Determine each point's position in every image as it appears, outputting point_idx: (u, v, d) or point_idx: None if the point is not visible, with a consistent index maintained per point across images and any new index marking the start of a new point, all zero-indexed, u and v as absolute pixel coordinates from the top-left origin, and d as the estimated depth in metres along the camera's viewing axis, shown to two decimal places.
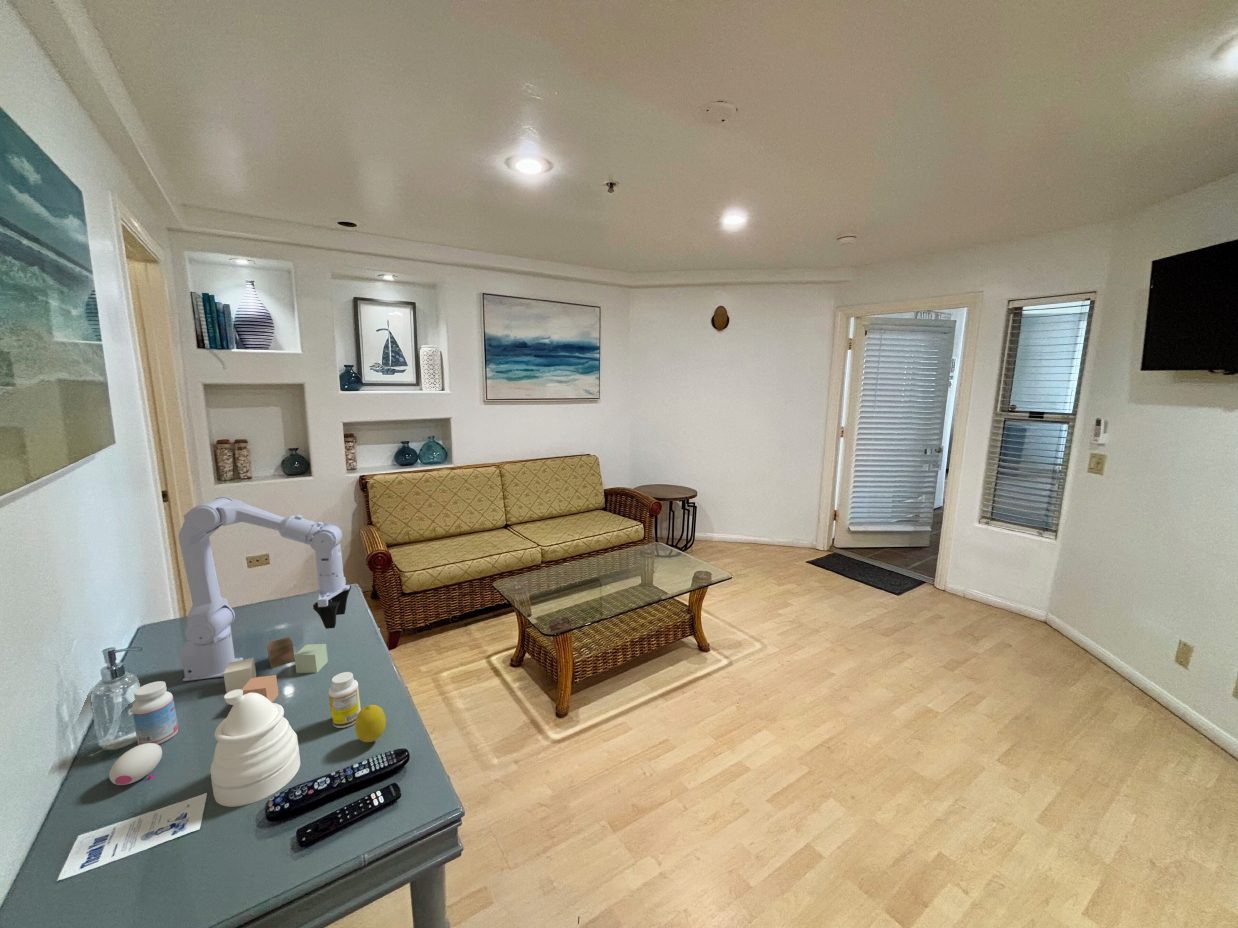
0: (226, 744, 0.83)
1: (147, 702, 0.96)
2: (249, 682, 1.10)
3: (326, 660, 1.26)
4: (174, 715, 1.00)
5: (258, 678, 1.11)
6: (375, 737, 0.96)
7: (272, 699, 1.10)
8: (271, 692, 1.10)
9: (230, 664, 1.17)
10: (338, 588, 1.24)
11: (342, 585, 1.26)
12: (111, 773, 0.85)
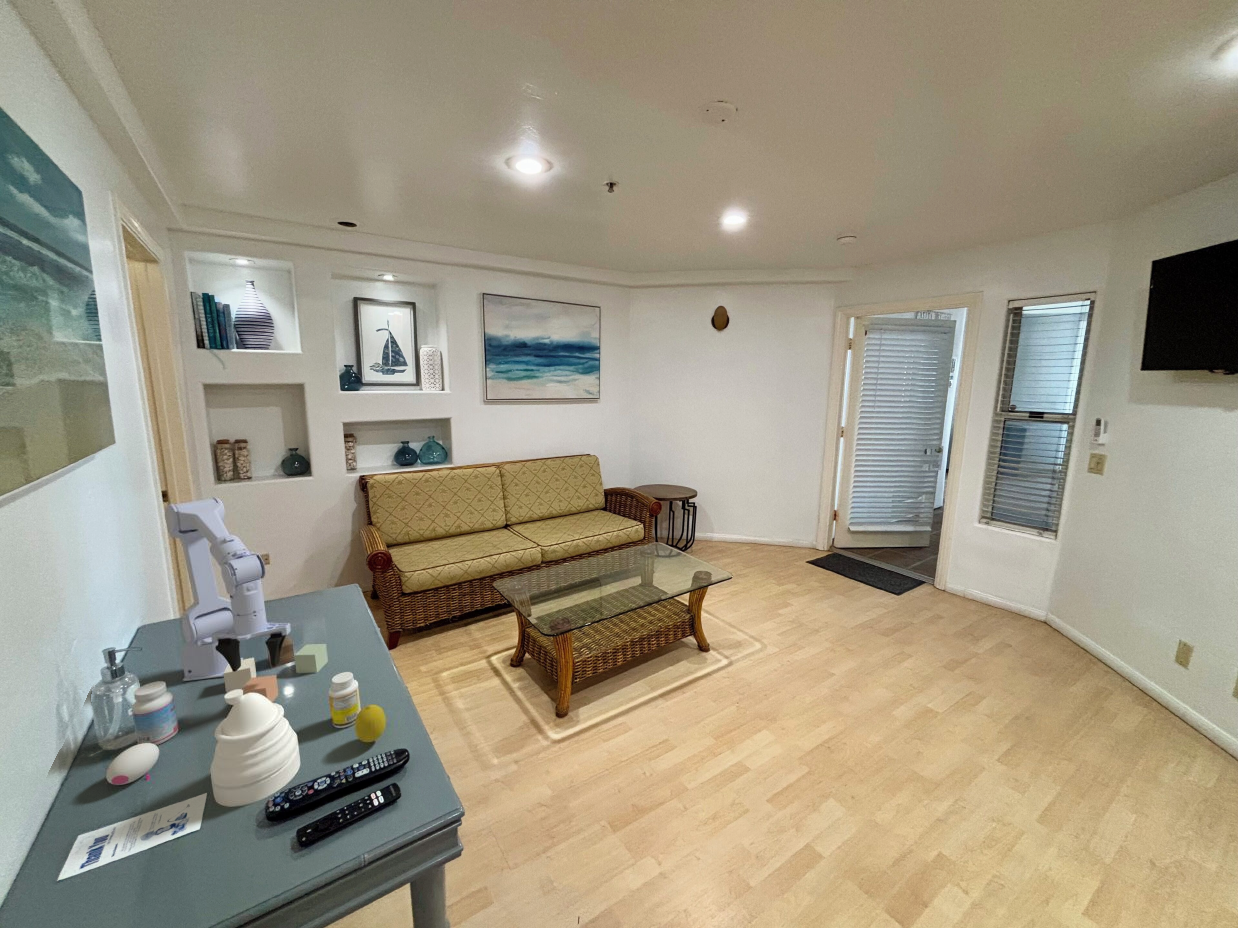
0: (226, 744, 0.83)
1: (147, 702, 0.96)
2: (249, 682, 1.10)
3: (326, 660, 1.26)
4: (174, 715, 1.00)
5: (258, 678, 1.11)
6: (375, 737, 0.96)
7: (272, 699, 1.10)
8: (271, 692, 1.10)
9: None
10: (236, 632, 1.05)
11: (240, 632, 1.04)
12: (108, 773, 0.85)
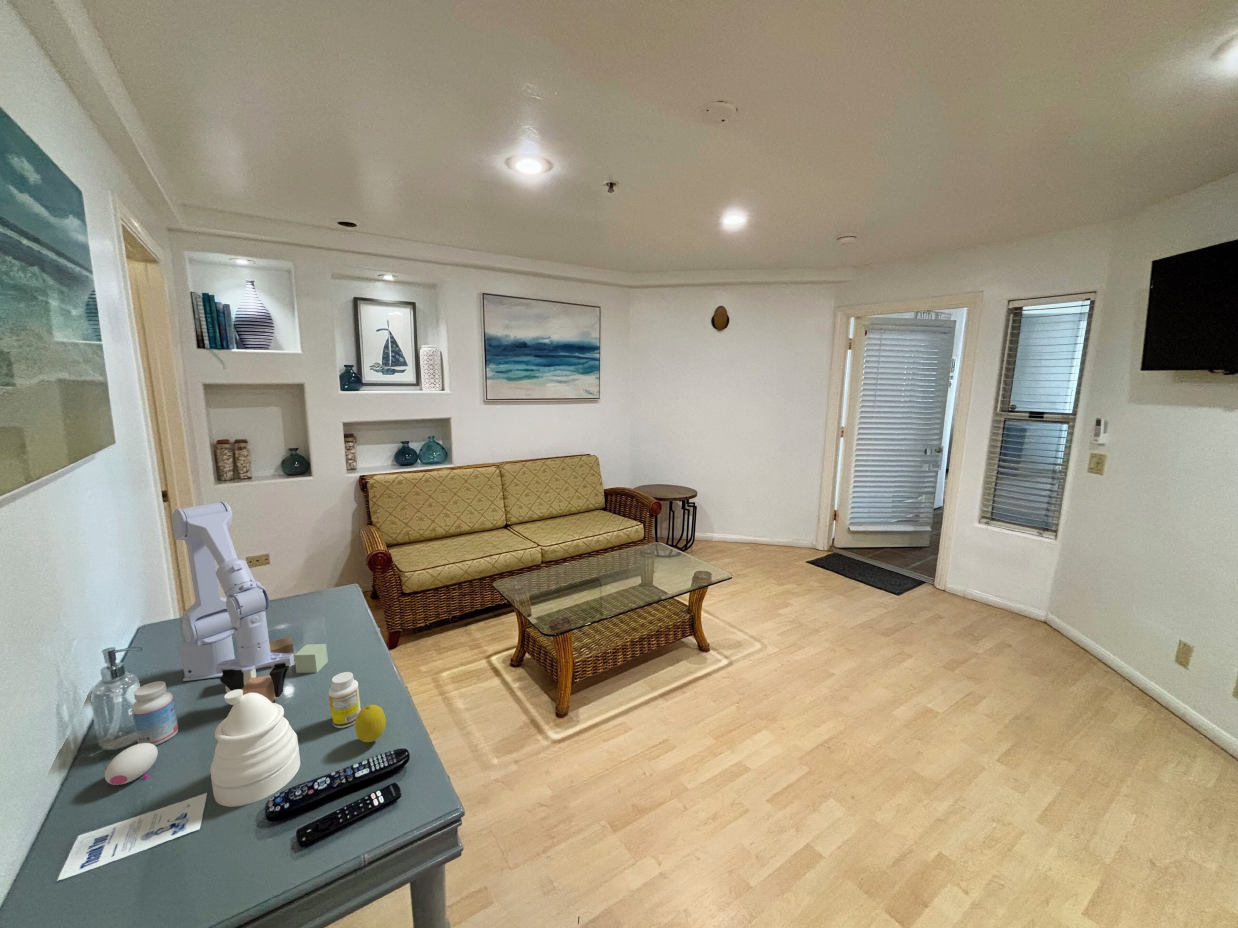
0: (226, 744, 0.83)
1: (147, 702, 0.96)
2: (249, 682, 1.10)
3: (326, 660, 1.26)
4: (174, 715, 1.00)
5: (258, 678, 1.11)
6: (375, 737, 0.96)
7: (272, 699, 1.10)
8: (271, 692, 1.10)
9: None
10: (240, 664, 1.06)
11: (245, 663, 1.06)
12: (106, 773, 0.85)
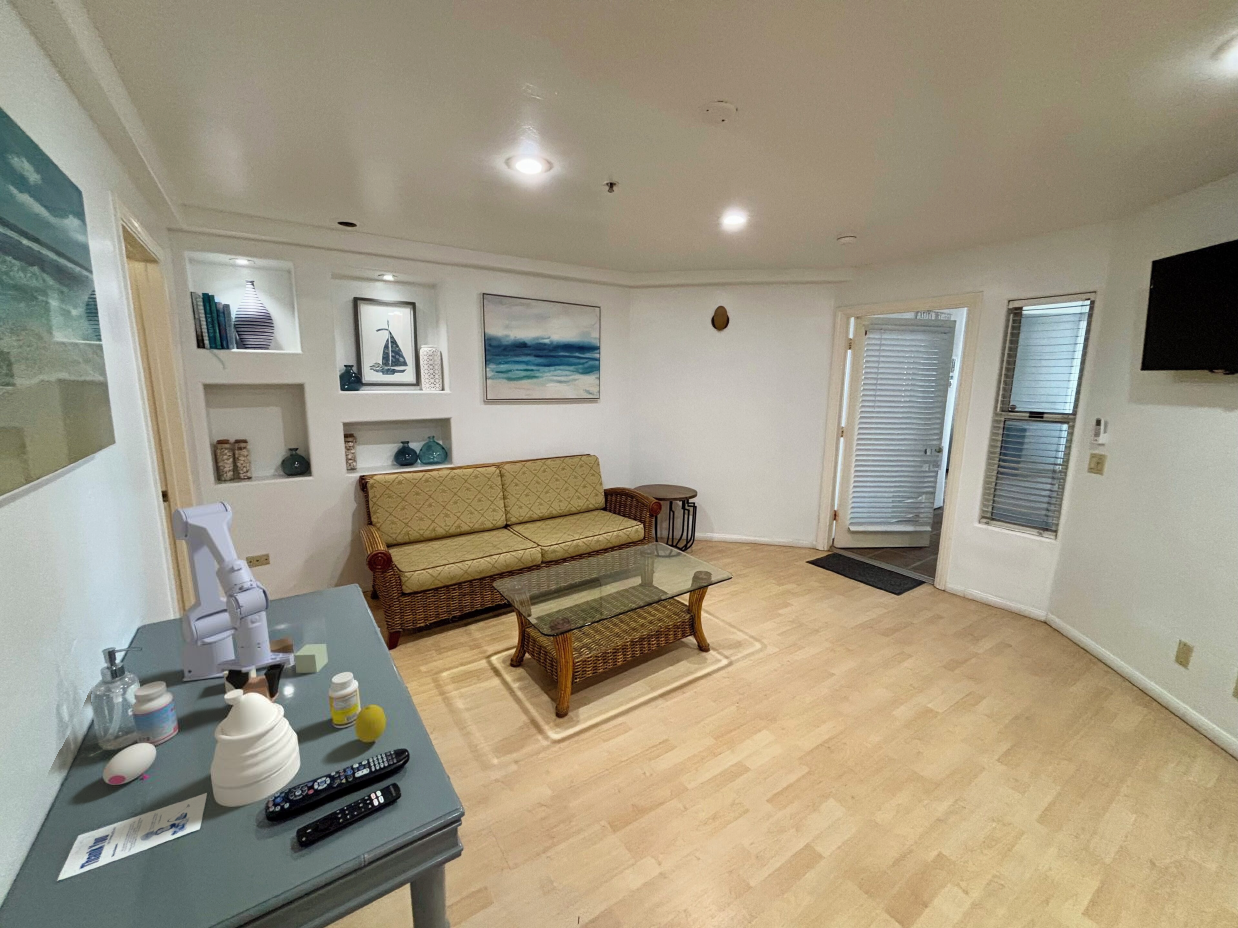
0: (226, 744, 0.83)
1: (147, 702, 0.96)
2: (249, 682, 1.10)
3: (326, 660, 1.26)
4: (174, 715, 1.00)
5: (258, 678, 1.11)
6: (375, 737, 0.96)
7: (272, 699, 1.10)
8: None
9: None
10: (240, 664, 1.06)
11: (245, 663, 1.06)
12: (105, 773, 0.85)
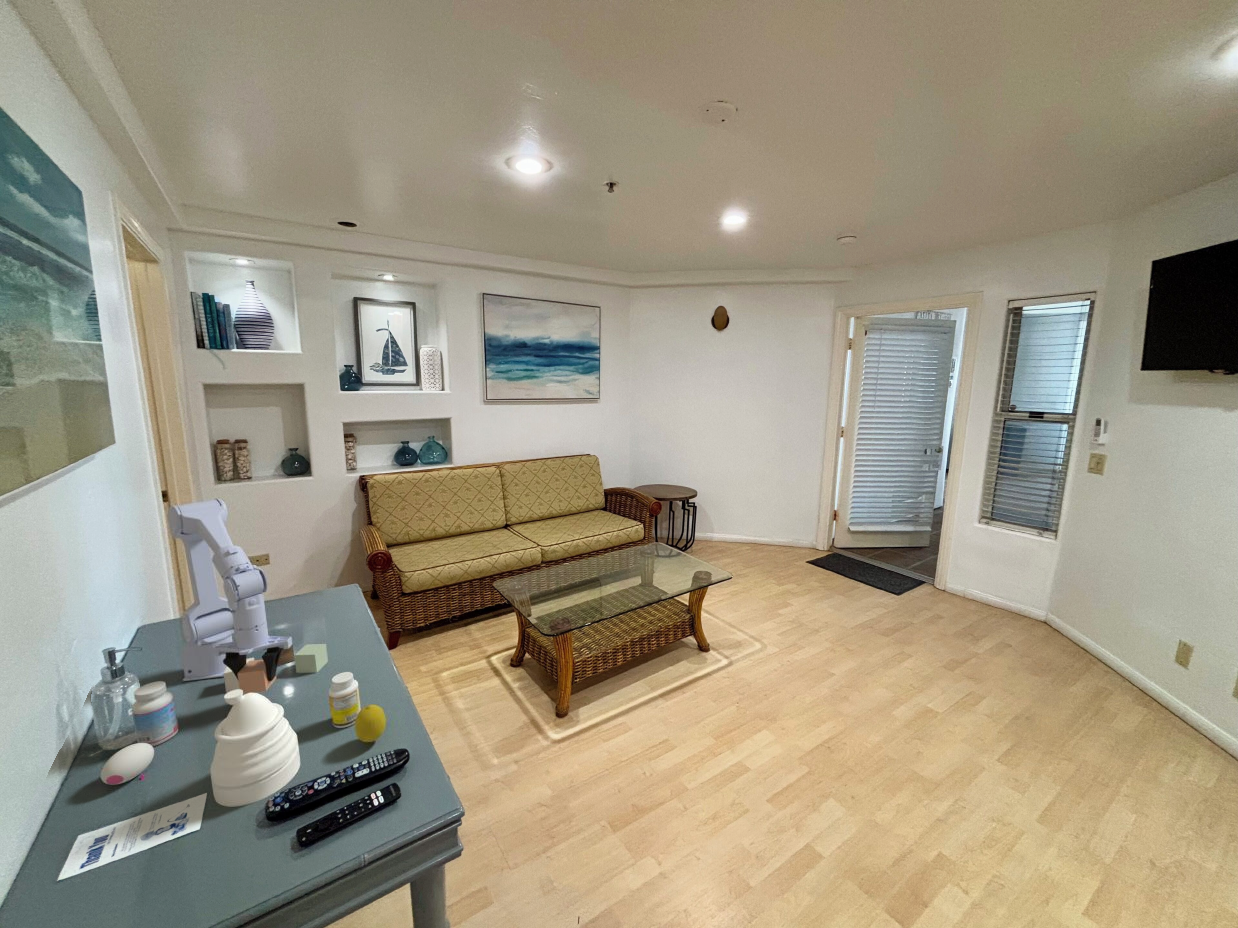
0: (226, 744, 0.83)
1: (147, 702, 0.96)
2: (247, 665, 1.09)
3: (326, 660, 1.26)
4: (174, 715, 1.00)
5: (256, 661, 1.10)
6: (375, 737, 0.96)
7: (270, 682, 1.10)
8: None
9: None
10: (238, 646, 1.05)
11: (242, 646, 1.05)
12: (102, 773, 0.85)
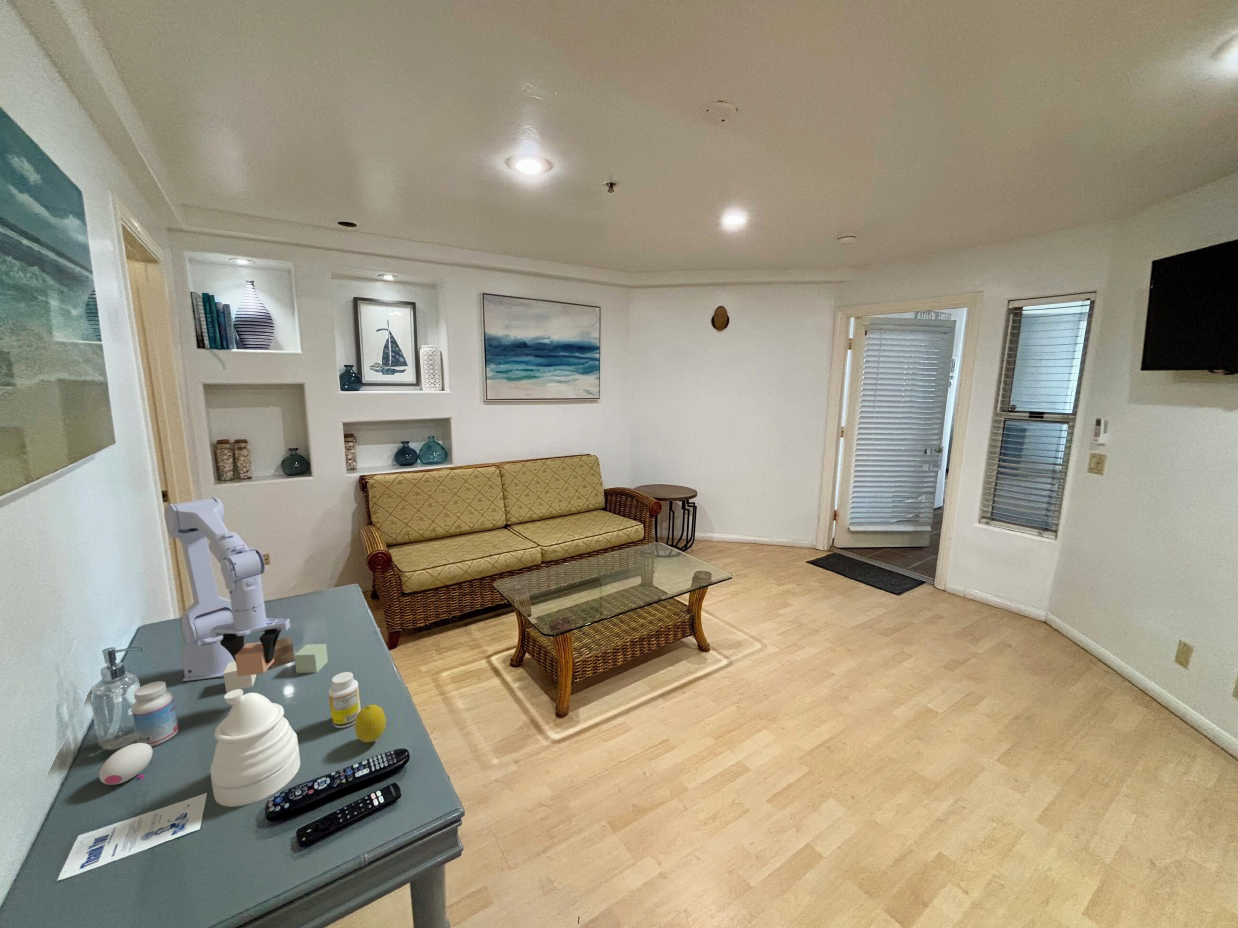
0: (226, 744, 0.83)
1: (147, 702, 0.96)
2: (244, 647, 1.08)
3: (326, 660, 1.26)
4: (174, 715, 1.00)
5: (253, 644, 1.10)
6: (375, 737, 0.96)
7: (267, 665, 1.09)
8: None
9: (230, 664, 1.17)
10: (235, 628, 1.05)
11: (240, 627, 1.04)
12: (101, 773, 0.85)
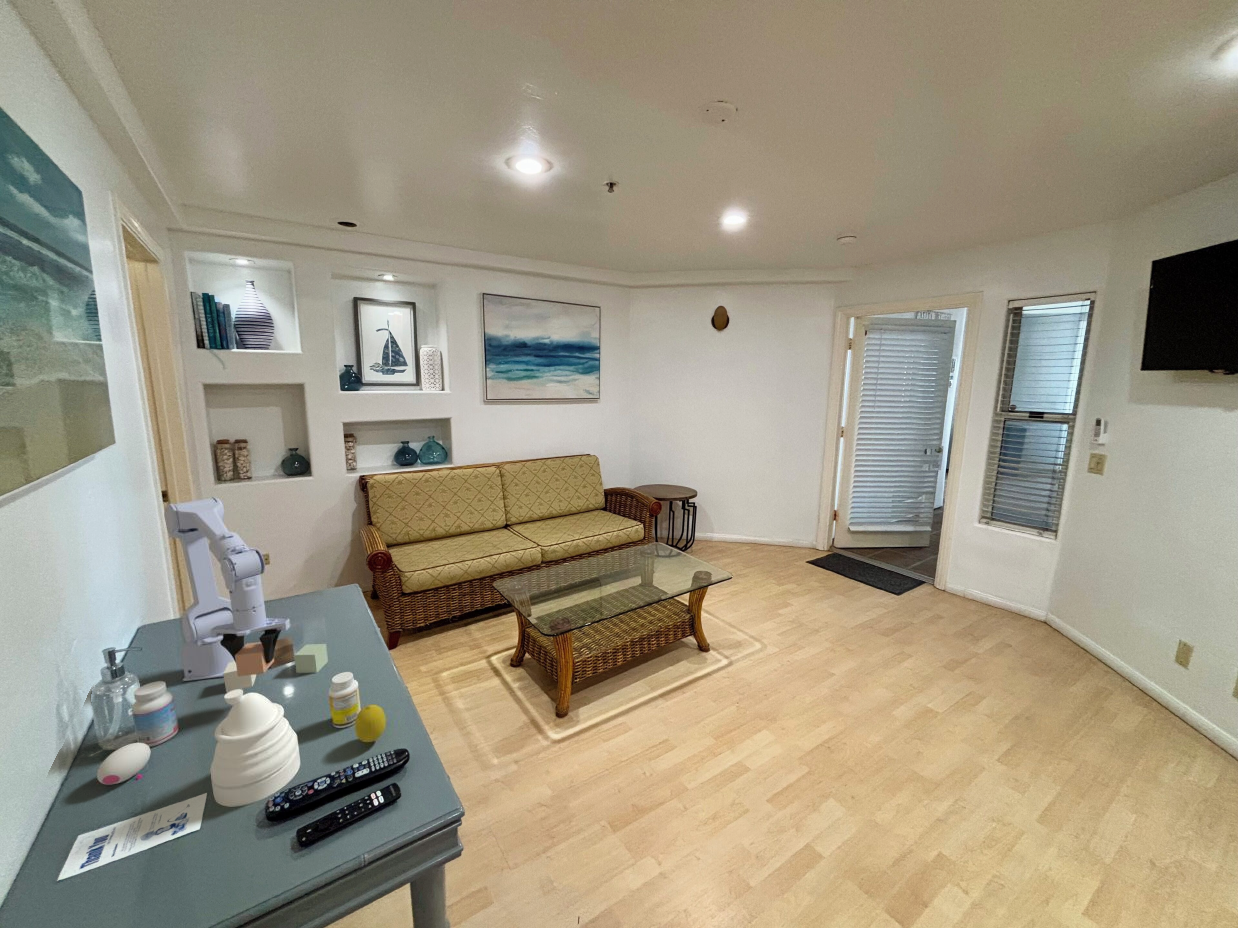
0: (226, 744, 0.83)
1: (147, 702, 0.96)
2: (244, 647, 1.08)
3: (326, 660, 1.26)
4: (174, 715, 1.00)
5: (253, 644, 1.10)
6: (375, 737, 0.96)
7: (267, 665, 1.09)
8: None
9: (230, 664, 1.17)
10: (235, 628, 1.05)
11: (240, 627, 1.04)
12: (99, 773, 0.85)
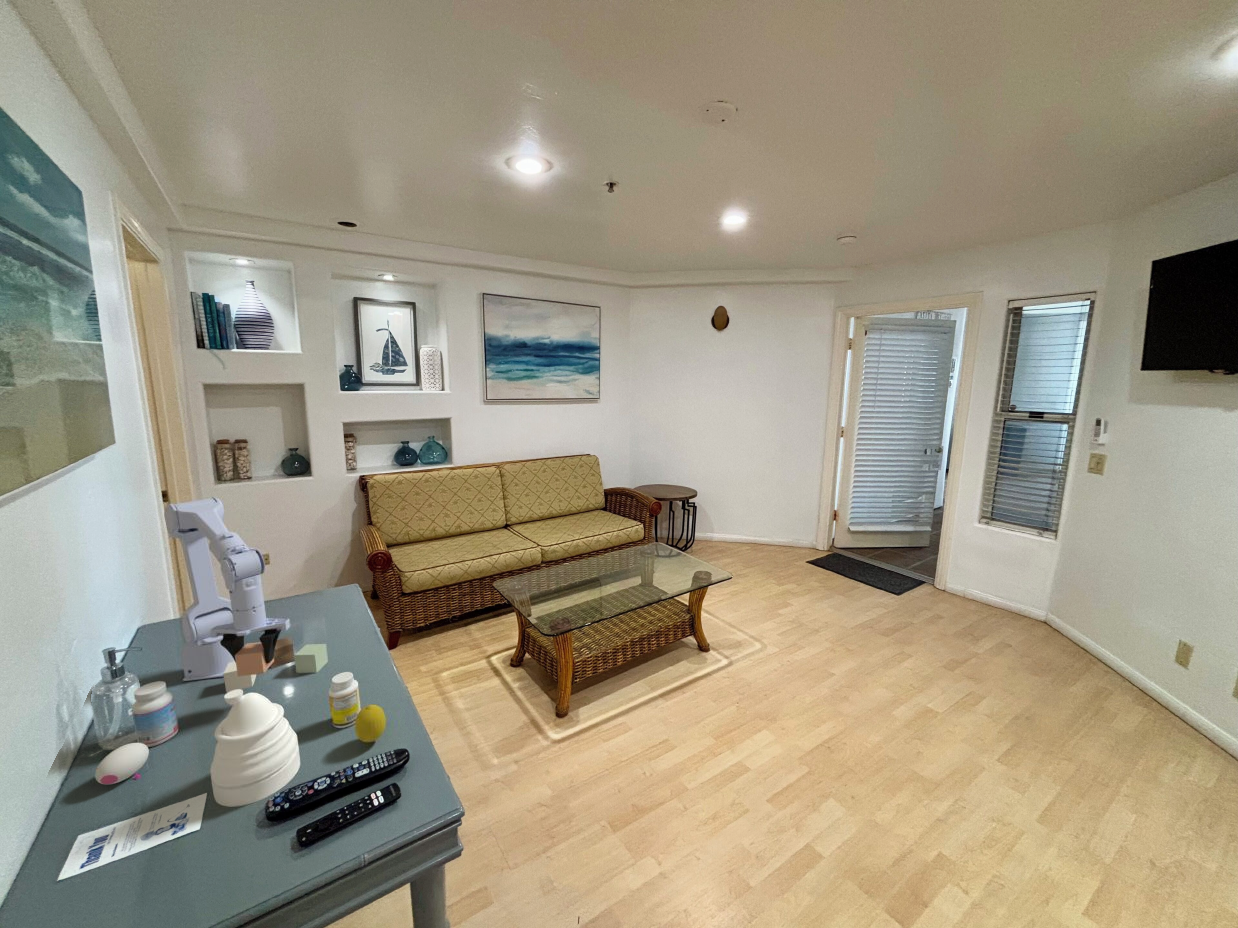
0: (226, 744, 0.83)
1: (147, 702, 0.96)
2: (244, 647, 1.08)
3: (326, 660, 1.26)
4: (174, 715, 1.00)
5: (253, 644, 1.10)
6: (375, 737, 0.96)
7: (267, 665, 1.09)
8: None
9: (230, 664, 1.17)
10: (235, 628, 1.05)
11: (240, 627, 1.04)
12: (97, 773, 0.85)
